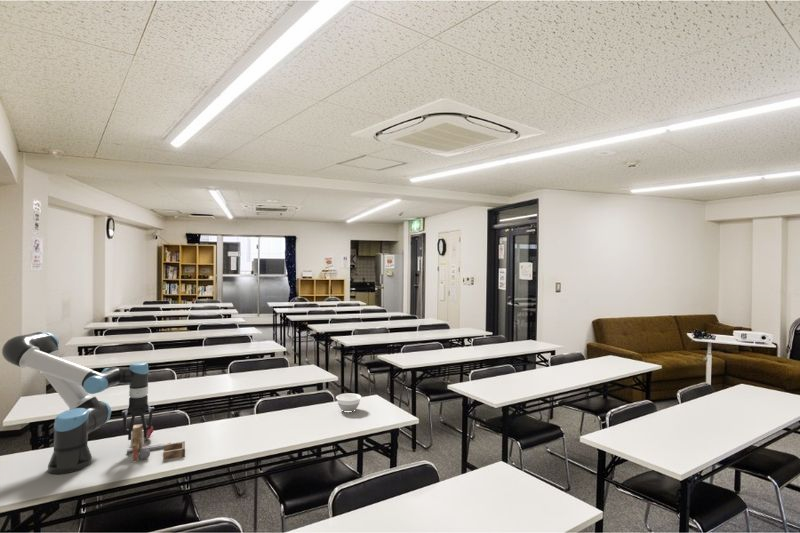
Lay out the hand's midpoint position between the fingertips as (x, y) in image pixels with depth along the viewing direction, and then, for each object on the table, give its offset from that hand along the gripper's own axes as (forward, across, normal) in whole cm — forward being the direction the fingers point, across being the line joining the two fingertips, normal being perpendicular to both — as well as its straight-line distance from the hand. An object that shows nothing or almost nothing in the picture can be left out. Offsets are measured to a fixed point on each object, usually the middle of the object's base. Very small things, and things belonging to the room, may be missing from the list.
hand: (137, 445), depth 196 cm
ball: (+1, +4, -10) cm, 11 cm away
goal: (+3, +16, -10) cm, 19 cm away
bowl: (+3, +112, +12) cm, 112 cm away
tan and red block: (+3, 0, -5) cm, 6 cm away
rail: (+3, +5, 0) cm, 6 cm away
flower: (+3, +2, +14) cm, 14 cm away
